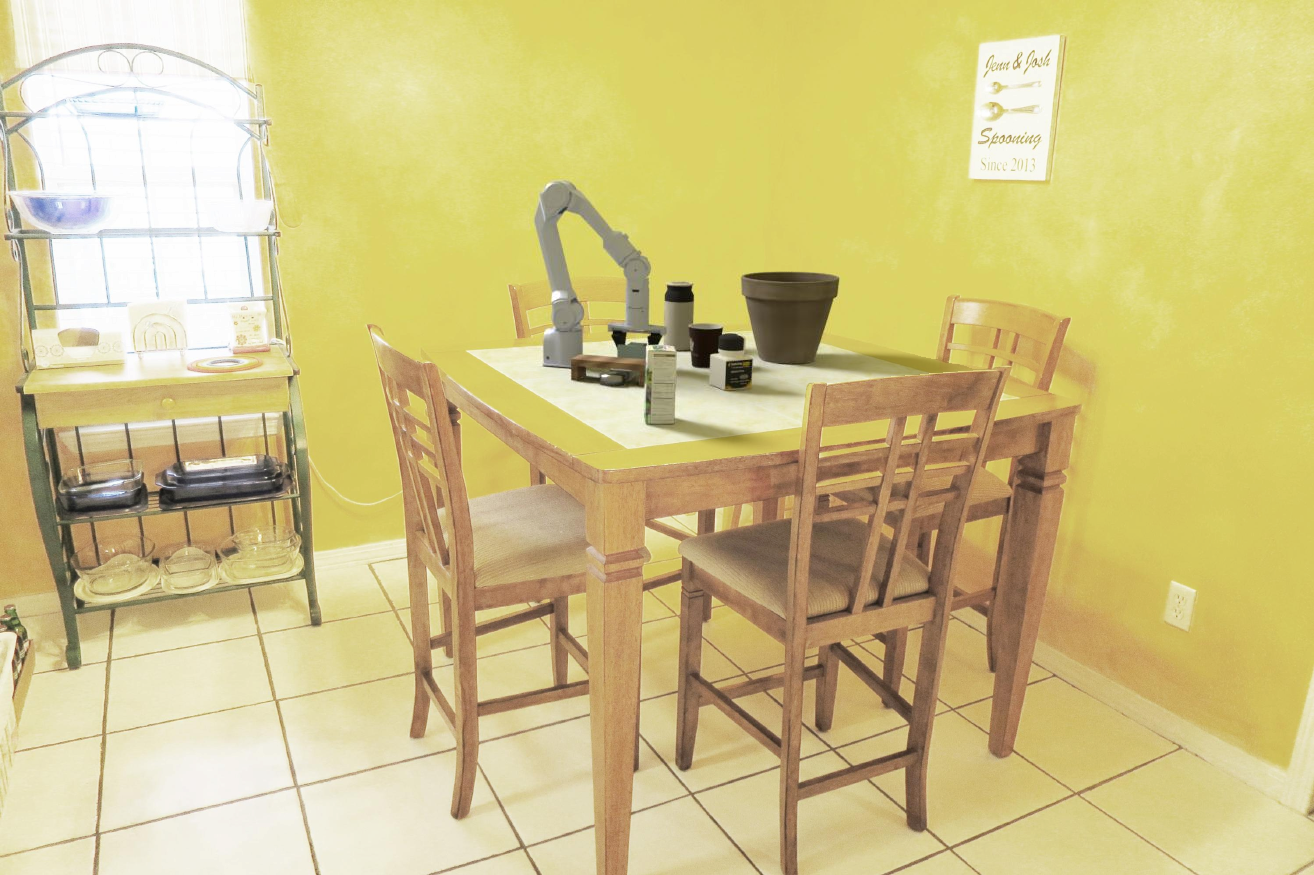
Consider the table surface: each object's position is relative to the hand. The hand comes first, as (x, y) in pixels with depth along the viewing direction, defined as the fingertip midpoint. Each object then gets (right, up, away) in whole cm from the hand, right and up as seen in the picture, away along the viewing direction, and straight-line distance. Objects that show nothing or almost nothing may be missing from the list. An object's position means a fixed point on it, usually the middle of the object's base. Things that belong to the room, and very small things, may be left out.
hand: (636, 362), depth 225 cm
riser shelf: (-5, -5, -14) cm, 16 cm away
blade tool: (-2, -3, -6) cm, 7 cm away
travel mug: (+11, +6, +26) cm, 29 cm away
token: (-5, -6, -16) cm, 18 cm away
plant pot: (+39, +2, +15) cm, 42 cm away
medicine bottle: (+22, -7, -17) cm, 28 cm away
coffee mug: (+17, 0, +6) cm, 18 cm away
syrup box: (+5, -15, -47) cm, 49 cm away
